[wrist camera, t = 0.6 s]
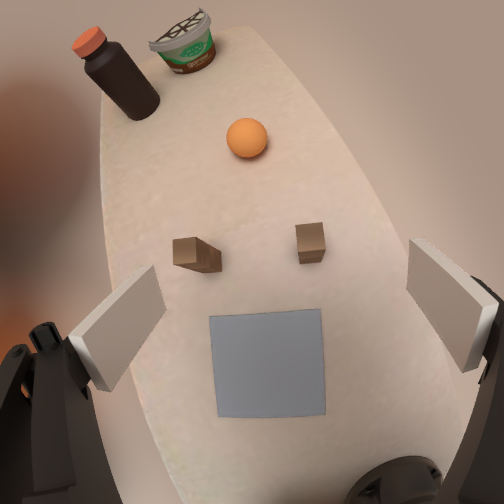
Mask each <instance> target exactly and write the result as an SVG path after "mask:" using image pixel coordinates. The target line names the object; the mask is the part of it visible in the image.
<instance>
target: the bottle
mask: <svg viewBox="0 0 504 504" xmlns="http://www.w3.org/2000/svg"><path fill="white" fill-rule="evenodd" d="M72 50H73V51H74V52H75V53H76V54H77V55H78V56H79V57H81V59H85V60H86V61H85V67H84V69H85V72H86V73H87V75H88V76H89V77H90V78H91V79H92V80H93V81H94V82H95V83H96V84H97V85H98V86H99V87H100V88H101V89H102V90H103V91H104V92H105V93H106V94H107V95H108V96H109V97H110V98H111V99H112V100H113V101H114V102H115V103H116V104H117V105H118V106H119V107H120V108H121V110H122V111H123V112H124V113H125V114H126V115H127V116H128V117H129V118H131V119H132V120H141V119H143V118H146V117H147V116H149V115H150V114H152V112H153V111H154V110H155V109H156V108H157V106H158V104H159V95H158V94H157V92H156V91H155V90H154V88H153V87H152V86H151V84H150V83H149V82H148V80H147V79H146V78H145V76H144V75H143V74H142V72H141V71H140V70H139V68H138V67H137V66H136V64H135V63H134V62H133V60H132V59H131V58H130V56H129V55H128V54H127V52H126V51H125V50H124V49H123V47H122V46H121V44H119V43H118V42H108V41H107V37H106V36H105V34H104V33H103V32H102V30H101V29H100V28H99V27H93V28H91V29H89V30H87V31H86V32H84V33H83V34H82V35H81V36H80V37H79V38H78V39H77V40H76V41H75V42H74V44H73V46H72Z"/></svg>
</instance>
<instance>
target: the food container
mask: <svg viewBox="0 0 504 504" xmlns="http://www.w3.org/2000/svg"><path fill="white" fill-rule="evenodd" d="M210 24H211V19H210V17H209V16H208V14H207V13H206V12H205V11H204V10H203V9H201V8H199V12H198V13H196V14H195V15H193V16H192V17H190V18H188V19H186V20H184V21H182V22H180V23H178V24H176V25H175V26H174V27H172V28H171V29H170V30H169V31H168V32H167V33H166V34H164V35H163V36H162V37H161V38H159V39H158V40H157V41H155V42H150V41H149V43H150V44H149V47H150V50H151V51H155V52H157V53H158V54H159V55H160V56H161V57H162V58H163V60H164V61H165V62H166V63H167V64H168V65H169V67H170V68H171V69H172V70H173V71H174V72H175V73H177V74H189V73H193V72H196V71H199V70H201V69H203V68H205V67H206V66H207V65H209V64H210V63H211V62H212V61H213V59H214V57H215V55H216V51H215V47H214V44H213V40H212V36H211V33H210V29H209V26H210Z"/></svg>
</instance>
